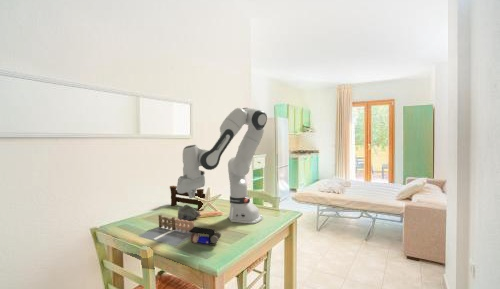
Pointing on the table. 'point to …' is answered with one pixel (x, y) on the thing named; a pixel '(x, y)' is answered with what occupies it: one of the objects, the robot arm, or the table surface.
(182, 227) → the hinged fence panel
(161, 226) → the fixed fence section
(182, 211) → the mineral rock
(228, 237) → the table surface
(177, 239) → the card
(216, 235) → the figurine character
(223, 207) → the table surface
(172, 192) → the decorative fence
